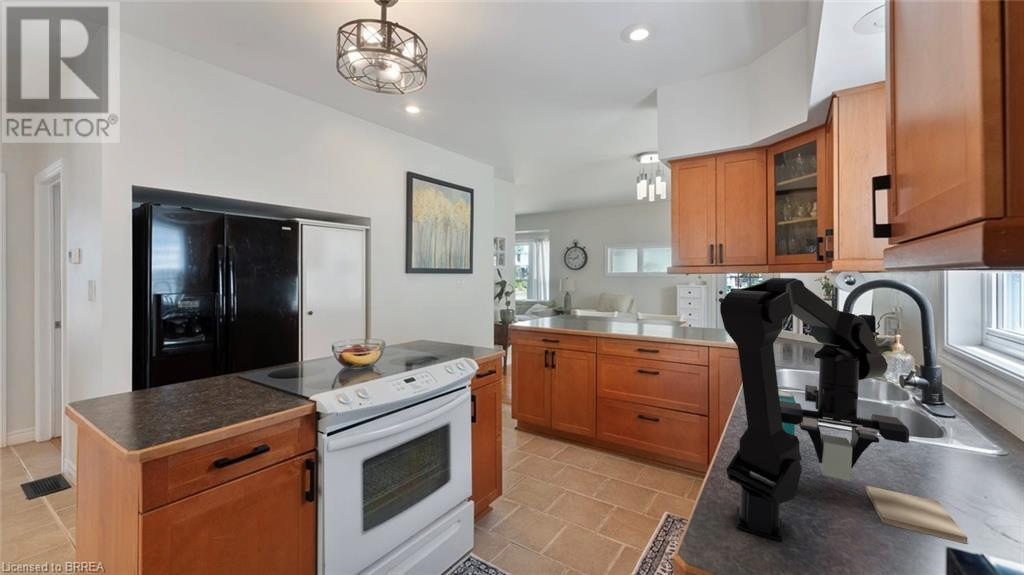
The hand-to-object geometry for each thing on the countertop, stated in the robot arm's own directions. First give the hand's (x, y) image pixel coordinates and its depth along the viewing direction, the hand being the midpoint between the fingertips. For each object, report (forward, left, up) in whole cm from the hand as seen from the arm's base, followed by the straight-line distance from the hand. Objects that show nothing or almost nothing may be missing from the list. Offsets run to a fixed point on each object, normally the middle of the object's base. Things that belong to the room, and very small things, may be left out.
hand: (834, 465), depth 76 cm
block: (0, 0, -1) cm, 1 cm away
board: (+1, -11, -6) cm, 13 cm away
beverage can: (+15, +8, -7) cm, 18 cm away
